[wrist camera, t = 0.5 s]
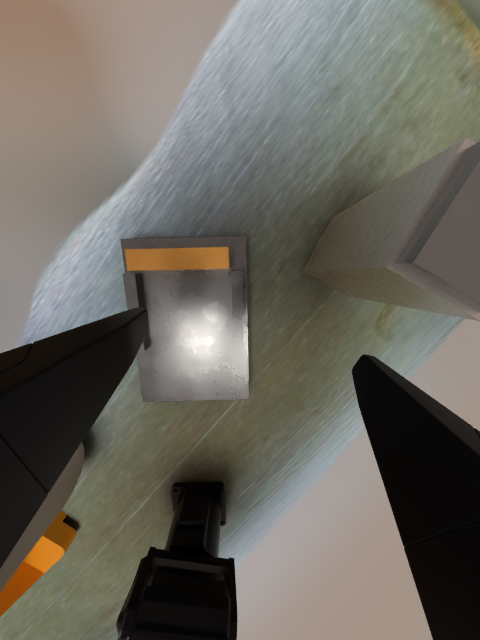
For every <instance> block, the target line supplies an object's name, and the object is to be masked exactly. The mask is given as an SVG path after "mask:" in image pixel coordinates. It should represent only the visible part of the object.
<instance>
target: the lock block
mask: <svg viewBox="0 0 480 640" xmlns="http://www.w3.org/2000/svg"><path fill="white" fill-rule="evenodd" d="M302 272H304V273H306V274H308V275H310V276H312V277H314V278H316V279H317V280H319V281H321V282H323V283H325V284H327V285H329V286H331V287H332V288H334V289H336V290H338V291H340V292H342V293H344V294H346V295H347V296H350V297H355V298H361V299H366V300H371V301H376V302H382V303H387V304H392V305H397V306H403V307H408V308H413V309H418V310H424V311H429V312H434V313H440V314H445V315H450V316H455V317H461V318H466V319H472V320H477V321H480V142H478V143H475V142H474V141H473V140H471V139H470V138H468V137H465V138H463V139H462V140H460V141H458V142H457V143H455V144H453V145H452V146H450V147H448V148H447V149H445V150H443V151H442V152H440V153H438V154H437V155H435V156H433V157H432V158H430V159H429V160H427V161H425V162H424V163H422V164H420V165H419V166H417V167H415V168H414V169H412V170H410V171H409V172H407V173H405V174H404V175H402V176H400V177H399V178H397V179H395V180H394V181H392V182H390V183H389V184H387V185H385V186H384V187H382V188H380V189H379V190H377V191H376V192H374V193H372V194H371V195H369V196H367V197H366V198H364V199H362V200H361V201H359V202H357V203H356V204H354V205H352V206H351V207H349V208H347V209H346V210H344V211H342V212H341V213H339V214H337V215H336V216H334V217H332V218H331V220H330V222H329V224H328V226H327V227H326V229H325V231H324V233H323V235H322V237H321V238H320V240H319V242H318V244H317V246H316V248H315V249H314V251H313V253H312V255H311V257H310V258H309V260H308V262H307V264H306V266H305V268H304V269H303V271H302Z"/></svg>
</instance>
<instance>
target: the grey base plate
mask: <svg viewBox="0 0 480 640" xmlns="http://www.w3.org/2000/svg"><path fill="white" fill-rule="evenodd" d="M121 245H122V253H123V260H124V267H125V274H123V279H124V286H125V293H126V300H127V308H128V310H130V309H133V308H136V307H139V308H143V309H147V310H148V317H149V329H148V332H147V334H146V336H145V338H144V340H143V343H142V345H141V347H140V349H139V351H138V353H137V361H138V368H139V376H140V383H141V390H142V397H143V402H163V401H196V400H229V399H249V373H248V315H247V257H246V236H221V237H178V238H136V239H121Z"/></svg>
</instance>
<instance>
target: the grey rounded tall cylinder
mask: <svg viewBox="0 0 480 640" xmlns="http://www.w3.org/2000/svg"><path fill="white" fill-rule="evenodd" d="M83 463H84V446H83V443H82V442H81V444H80V446H79V447H78V449H77V450H76V452H75V453H74V455H73V456H72V458H71V460H70V461H69V463H68V464H67V466H66V467H65V469H64V470H63V472H62V473H61V475H60V477H59V478H58V480H57V481H56V483H55V484H54V486H53V487H52V489H51V491H50V492H49V493H48V496H47V497H46V499H45V500H44V502H43V503H42V505H41V506H40V508H39V510H38V511H37V513H36V514H35V516H34V517H33V519H32V520H31V522H30V524H29V525H28V527H27V528H26V530H25V531H24V533H23V534H22V536H21V538H20V539H19V541H18V542H17V544H16V545H15V547H14V548H13V550H12V552H11V553H10V555H9V556H8V558H7V559H6V561H5V562H4V564H3V566H2V567H1V569H0V593H1V591H2V590H3V589H4V587H5V586H6V584H7V583H8V582H9V580H10V579H11V577H12V576H13V575H14V573H15V572H16V570H17V569H18V568H19V566H20V565H21V564H22V562H23V561H24V560H25V558H26V557H27V555H28V554H29V553H30V551H31V550H32V549H33V547H34V546H35V545H36V543H37V542H38V541H39V539H40V538H41V537H42V535H43V534H44V533H45V531H46V530H47V529H48V527H49V526H50V525H51V523H52V522H53V521H54V519H55V518H56V516H57V515H58V514H59V512H60V511H61V509H62V508H63V506H64V505H65V503H66V502H67V500H68V499H69V497H70V495H71V494H72V492H73V490H74V488H75V485H76V483H77V481H78V478H79V476H80V473H81V470H82V467H83Z"/></svg>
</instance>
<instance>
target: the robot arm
mask: <svg viewBox="0 0 480 640" xmlns="http://www.w3.org/2000/svg"><path fill="white" fill-rule="evenodd" d="M148 329H149V317H148V310H147V309H143V308H139V307H136V308H133V309H130V310H127V311H124V312H121V313H118V314H115V315H112V316H109V317H106V318H103V319H100V320H98V321H95V322H92V323H89V324H86V325H83V326H80V327H77V328H74V329H71V330H68V331H65V332H62V333H59V334H56V335H54V336H51V337H48V338H45V339H42V340H39V341H36V342H34V343H33V344H31V343H30V344H27V345H24V346H21V347H18V348H15V349H12V350H10V351H6V352H3V353H0V569H1V567H2V566H3V564H4V562H5V561H6V559H7V558H8V556H9V555H10V553H11V552H12V550H13V548H14V547H15V545H16V544H17V542H18V541H19V539H20V538H21V536H22V534H23V533H24V531H25V530H26V528H27V527H28V525H29V524H30V522H31V520H32V519H33V517H34V516H35V514H36V513H37V511H38V510H39V508H40V506H41V505H42V503H43V502H44V500H45V499H46V497H47V496H48V493H49V492H50V491H51V489H52V487H53V486H54V484H55V483H56V481H57V480H58V478H59V477H60V475H61V473H62V472H63V470H64V469H65V467H66V466H67V464H68V463H69V461H70V460H71V458H72V456H73V455H74V453H75V452H76V450H77V449H78V447H79V446H80V444H81V442H82V441H83V439H84V438H85V436H86V435H87V433H88V432H89V430H90V428H91V427H92V425H93V424H94V422H95V421H96V419H97V418H98V416H99V414H100V413H101V411H102V410H103V408H104V407H105V405H106V404H107V402H108V400H109V399H110V397H111V396H112V394H113V393H114V391H115V390H116V388H117V386H118V385H119V383H120V382H121V380H122V379H123V377H124V376H125V374H126V372H127V371H128V369H129V368H130V366H131V364H132V363H133V361H134V359H135V357H136V355H137V353H138V351H139V349H140V347H141V345H142V343H143V340H144V338H145V336H146V334H147V332H148ZM352 375H353V380H354V385H355V390H356V394H357V399H358V404H359V408H360V411H361V414H362V417H363V421H364V424H365V427H366V430H367V433H368V436H369V439H370V442H371V446H372V448H373V452H374V455H375V458H376V461H377V464H378V467H379V471H380V474H381V477H382V480H383V483H384V486H385V489H386V493H387V496H388V499H389V502H390V505H391V508H392V511H393V515H394V518H395V521H396V524H397V527H398V530H399V533H400V536H401V540H402V543H403V546H404V550H405V553H406V556H407V559H408V562H409V565H410V568H411V572H412V574H413V578H414V581H415V584H416V587H417V591H418V593H419V596H420V600H421V603H422V606H423V609H424V612H425V615H426V619H427V622H428V625H429V628H430V631H431V634H432V638H433V640H480V431H478V430H477V429H475V428H473V427H472V426H471V425H470V424H468V423H467V422H465V421H464V420H463V419H461V418H460V417H459V416H457V415H456V414H454V413H453V412H451V411H450V410H449V409H447V408H446V407H445V406H443V405H442V404H440V403H439V402H438V401H436V400H435V399H433V398H432V397H431V396H429V395H428V394H426V393H425V392H424V391H422V390H421V389H419V388H418V387H416V386H415V385H414V384H412V383H411V382H409V381H408V380H407V379H405V378H404V377H402V376H401V375H400V374H398V373H397V372H395V371H394V370H393V369H391V368H390V367H388V366H387V365H386V364H384V363H383V362H381V361H380V360H379V359H377V358H376V357H374V356H370V355H362V356H361V357H360V358H359V360H358V361H357V363H356V364H355V365H354V367H353V369H352ZM171 491H172V499H173V508H174V516H173V520H172V524H171V528H170V531H169V535H168V539H167V543H166V546H165V550H162V549H156V547H150V549H149V552H148V555H147V557H145V558H143V559H141V561H140V564H139V567H138V570H137V573H136V576H135V579H134V582H133V584H132V587H131V589H130V591H129V593H128V596H127V598H126V600H125V602H124V605H123V607H122V609H121V611H120V614H119V617H118V620H117V623H116V627H117V632H118V640H236V638H237V601H236V584H235V565H234V558H229V559H225V558H218V553H219V538H220V526H223V525H225V523H226V514H225V494H224V484H223V483H221V482H217V483H187V484H174V485H173V486H172V490H171Z"/></svg>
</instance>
